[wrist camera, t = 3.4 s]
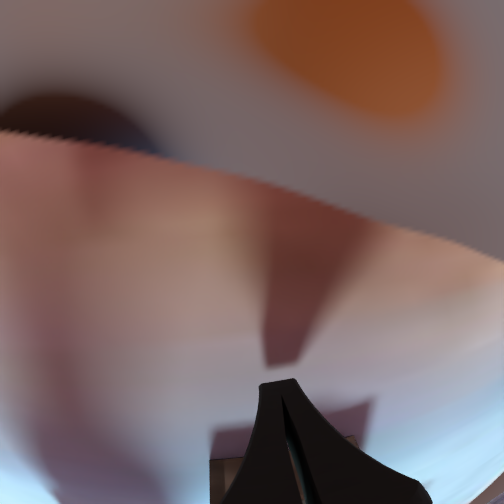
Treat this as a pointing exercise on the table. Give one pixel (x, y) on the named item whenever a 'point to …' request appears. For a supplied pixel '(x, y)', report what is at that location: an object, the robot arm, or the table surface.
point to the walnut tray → (227, 470)
